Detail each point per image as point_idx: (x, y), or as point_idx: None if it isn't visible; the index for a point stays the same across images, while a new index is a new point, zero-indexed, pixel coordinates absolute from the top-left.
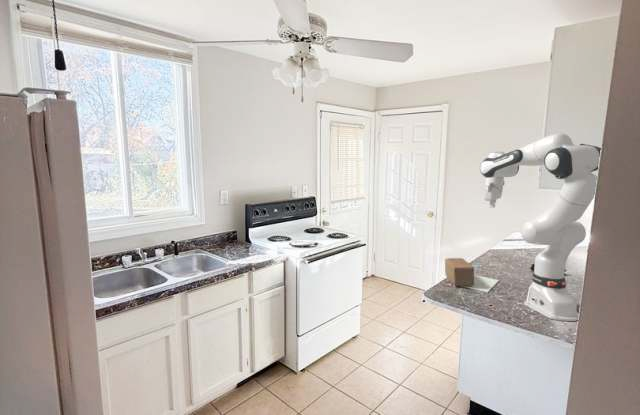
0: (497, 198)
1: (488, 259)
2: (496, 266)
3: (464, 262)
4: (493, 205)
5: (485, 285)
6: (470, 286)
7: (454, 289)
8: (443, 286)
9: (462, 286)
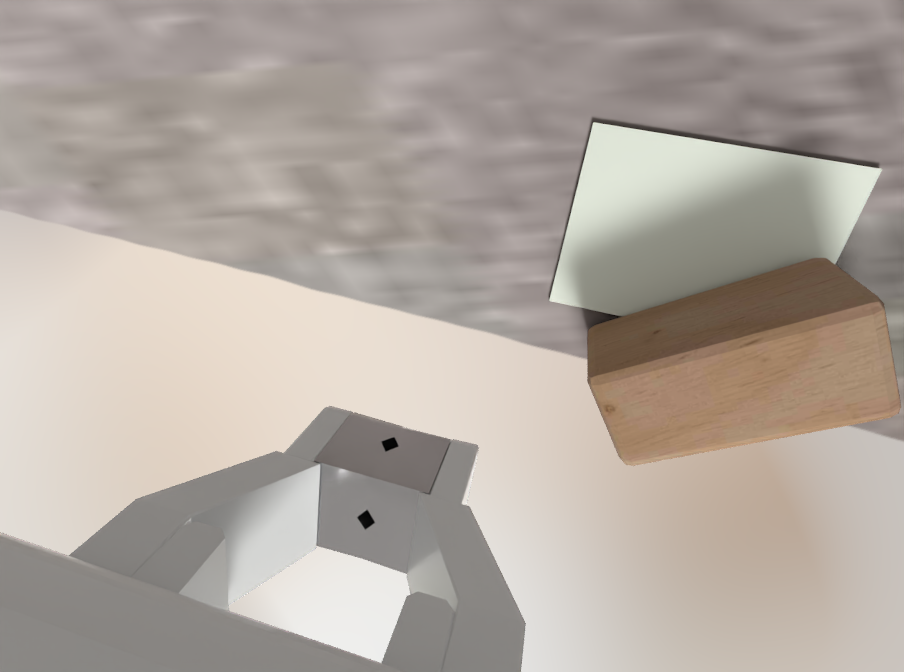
0: (51, 582)
1: (183, 216)
2: (294, 161)
3: (738, 364)
4: (462, 492)
5: (748, 191)
6: None
7: None
8: None
9: None
